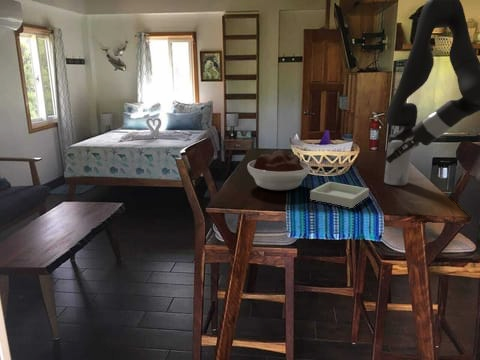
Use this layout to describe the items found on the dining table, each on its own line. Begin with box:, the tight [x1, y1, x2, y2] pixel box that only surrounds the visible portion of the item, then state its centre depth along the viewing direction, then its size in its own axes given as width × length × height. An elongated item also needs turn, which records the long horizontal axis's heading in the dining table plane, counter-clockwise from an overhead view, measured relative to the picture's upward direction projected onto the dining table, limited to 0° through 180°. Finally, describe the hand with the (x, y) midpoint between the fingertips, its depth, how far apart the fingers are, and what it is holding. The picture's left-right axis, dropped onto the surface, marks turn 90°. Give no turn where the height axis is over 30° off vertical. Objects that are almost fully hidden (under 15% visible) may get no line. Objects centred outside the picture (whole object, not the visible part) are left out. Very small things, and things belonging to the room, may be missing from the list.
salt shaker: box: [385, 140, 403, 179], centre depth 139 cm, size 6×6×13 cm
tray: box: [309, 181, 370, 209], centre depth 149 cm, size 16×16×4 cm
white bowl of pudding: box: [246, 149, 311, 191], centre depth 162 cm, size 25×25×15 cm
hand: (389, 159), depth 140 cm, fingers closed on salt shaker, 3 cm apart
